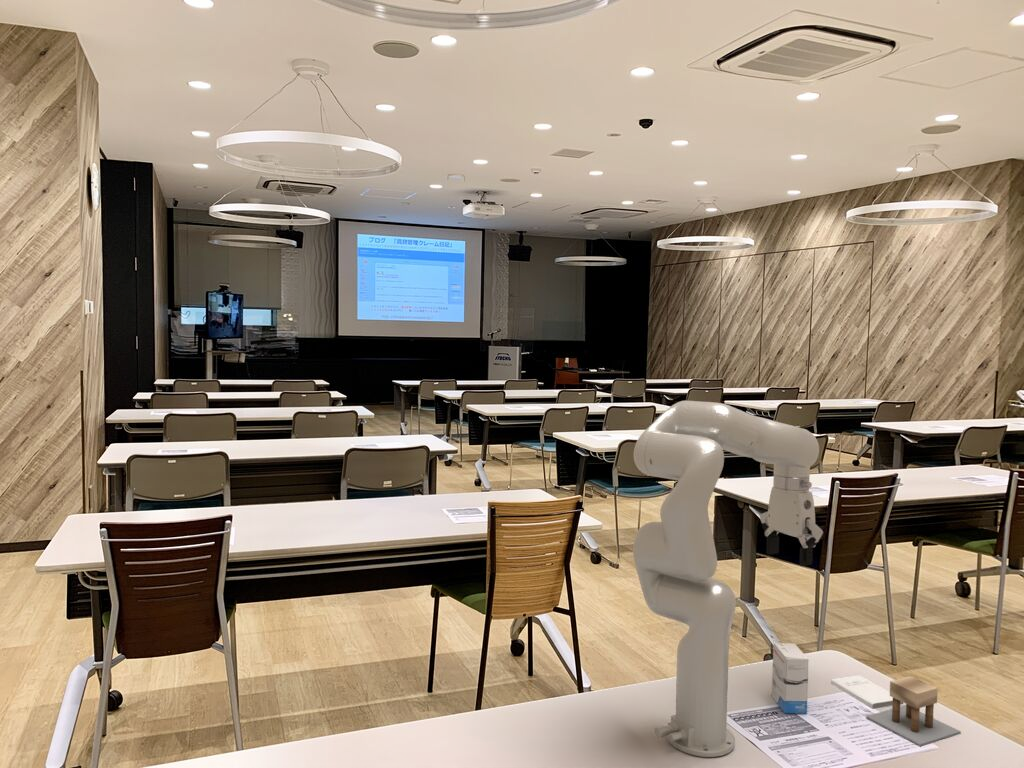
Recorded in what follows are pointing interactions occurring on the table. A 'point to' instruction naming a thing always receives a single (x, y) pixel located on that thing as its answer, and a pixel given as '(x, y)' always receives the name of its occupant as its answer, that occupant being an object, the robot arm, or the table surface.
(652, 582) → the robot arm
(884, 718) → the mat
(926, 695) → the stool
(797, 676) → the ink box
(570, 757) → the table surface
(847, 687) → the external hard drive
